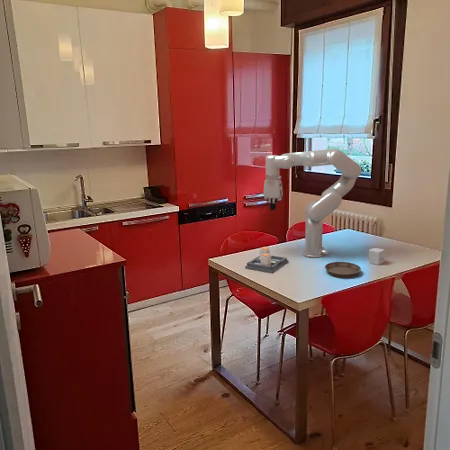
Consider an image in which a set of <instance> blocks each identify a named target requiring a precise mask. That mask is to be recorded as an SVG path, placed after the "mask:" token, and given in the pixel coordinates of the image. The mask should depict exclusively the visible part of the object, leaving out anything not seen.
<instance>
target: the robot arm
mask: <svg viewBox="0 0 450 450" xmlns="http://www.w3.org/2000/svg"><path fill="white" fill-rule="evenodd" d="M296 166H298V167H299V166H305V167H311V168H312V167H321V166H323V167H325V166H333V167H334V168H335V169H337V170H338V171H339V172H340V173H341V176H340V177H339V179H338V180H337V181H336V182H335V183H333V184H332V185H331V186H329V187H328V188H327V189H324V191H323V192H322V193H321V195H320V199H319V200H316V199H314V200H310V201H308V202H307V203H306V205H305V207H304V213H305V214H304V215H305V218H304V219H305V231H304V232H305V236H304V238H305V241H304V243H305V244H304V246H305V248H304V249H305V250H303V251H302V256H304V257H307V258H313V259H314V258H316V259H317V258H323V257H324V256H325V254H326V255H329V254H330V253H329V249H325V248H324V246H323V229H324V228H323V223H324V221H323V219H325V218H326V217H327V216H330V214H332V213H333V212H334V211H335V210H336V209H338V208H339V207H340V205H342V201H343V199H342V198H343V197H344V196H345V195H347V194H348V193H349V192H350V191H351V190H352V188H353V187H354V186H355V183H356V180H357V179H358V178H359V177H360V176H361V174H362V168H361V166H360V165H359V164H358V162H356V161H354V160H353V159H351V158H350V157H349V156H348V155H347V154H346V153H344V152H343V151H342V150H341V149H337V148H330V149H318V150H310V151H309V150H308V151H302V152H301V151H299V152H289V153H283V154H281V155H278V154H277V155H276V154H272V155H271V154H270V155H266V156H265V180H264V182H263V183H264V184H263V199H264V200H266V201H268V203H269V209H270V211H275V210H276V208H277V206H276V205H277V202H279V201H282V199H283V198H282V197H283V194H284V193H283V192H284V191H283V184H282V183H283V182H282V180H281V179H282V176H281V175H280V169H285V170H287V169H291V168H292V167H296Z"/></svg>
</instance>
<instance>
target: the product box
mask: <svg viewBox="0 0 450 450" xmlns="http://www.w3.org/2000/svg"><path fill="white" fill-rule="evenodd" d="M385 251H386V250H385V249H382V248H378V247H377V248H376V247H373V248H371V249H369V250H368V263H369V264H372V265H376V266H380V265H382V264H384V263H385Z"/></svg>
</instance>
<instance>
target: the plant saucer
mask: <svg viewBox="0 0 450 450" xmlns="http://www.w3.org/2000/svg"><path fill="white" fill-rule="evenodd" d="M324 269H325V271H326V272H327V273H328V274H329V275H330V276H333V277H337V278H352V277H355V276H357V275H358V274H359V273H360V272H361V269H362V268H361V267H360V266H359V265H358V264H356V263H352V262H348V261H334V262H329V263H327V264H325V265H324Z"/></svg>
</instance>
